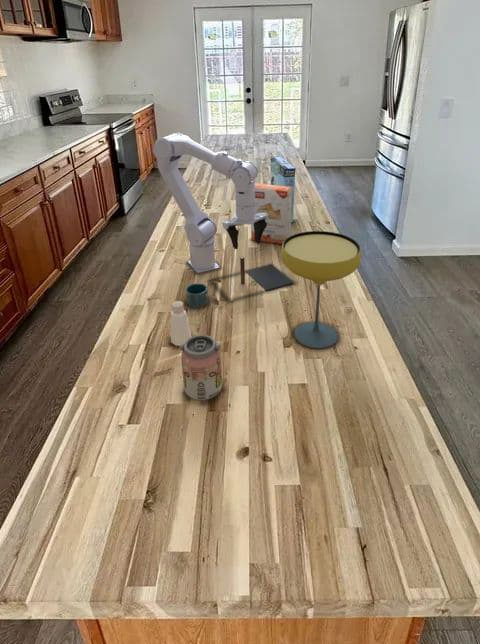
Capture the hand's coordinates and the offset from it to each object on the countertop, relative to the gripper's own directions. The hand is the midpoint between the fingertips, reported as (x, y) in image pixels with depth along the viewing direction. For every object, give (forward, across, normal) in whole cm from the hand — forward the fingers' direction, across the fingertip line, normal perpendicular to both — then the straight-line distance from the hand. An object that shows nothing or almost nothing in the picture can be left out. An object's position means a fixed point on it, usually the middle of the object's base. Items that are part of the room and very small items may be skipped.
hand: (246, 245), depth 135 cm
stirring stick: (+10, -4, -5) cm, 12 cm away
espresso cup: (+10, -20, -8) cm, 24 cm away
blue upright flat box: (+11, +37, +41) cm, 56 cm away
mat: (+10, -1, -5) cm, 12 cm away
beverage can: (+11, -31, -41) cm, 52 cm away
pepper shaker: (+11, -30, -23) cm, 39 cm away
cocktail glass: (+11, +1, -37) cm, 39 cm away
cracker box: (+11, +20, +20) cm, 30 cm away
